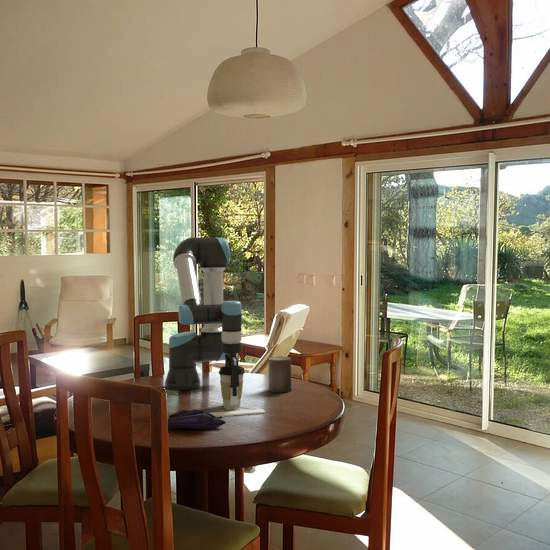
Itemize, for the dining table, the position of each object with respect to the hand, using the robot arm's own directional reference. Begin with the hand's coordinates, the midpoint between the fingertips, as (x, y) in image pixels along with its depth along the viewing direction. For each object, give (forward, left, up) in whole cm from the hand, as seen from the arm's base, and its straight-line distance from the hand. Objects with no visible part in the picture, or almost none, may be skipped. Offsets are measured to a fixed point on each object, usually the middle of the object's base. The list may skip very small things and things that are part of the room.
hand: (231, 401), depth 234 cm
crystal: (+23, -17, -3) cm, 29 cm away
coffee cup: (0, 0, -2) cm, 2 cm away
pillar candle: (-22, +25, -2) cm, 33 cm away
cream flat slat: (+10, -2, -2) cm, 10 cm away
